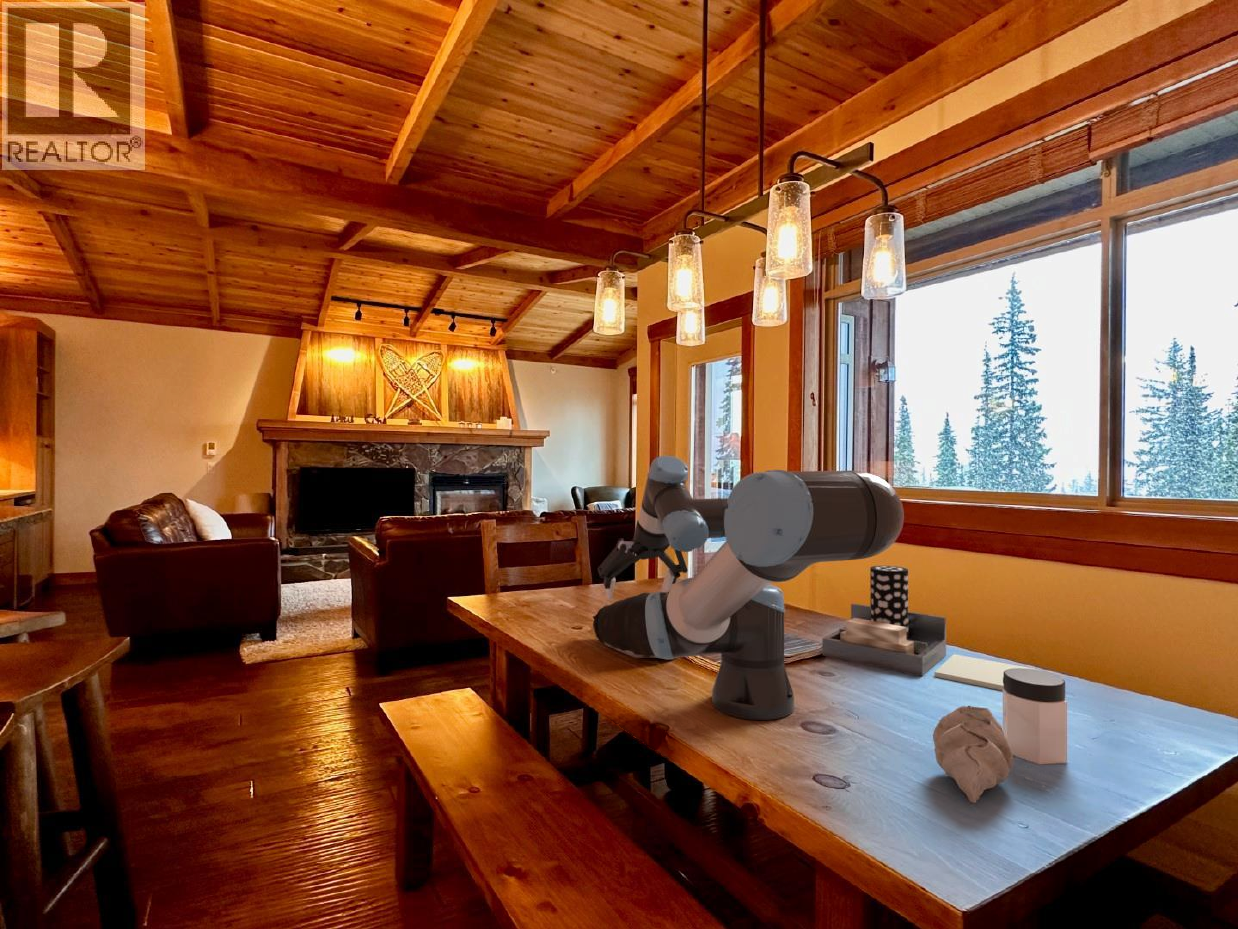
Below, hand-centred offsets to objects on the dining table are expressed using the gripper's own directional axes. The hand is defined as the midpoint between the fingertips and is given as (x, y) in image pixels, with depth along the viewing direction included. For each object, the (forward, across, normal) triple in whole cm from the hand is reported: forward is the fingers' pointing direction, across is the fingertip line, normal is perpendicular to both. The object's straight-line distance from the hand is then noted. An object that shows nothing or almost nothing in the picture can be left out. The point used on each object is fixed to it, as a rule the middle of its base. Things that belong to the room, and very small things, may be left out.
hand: (636, 594), depth 142 cm
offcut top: (0, -53, +18) cm, 56 cm away
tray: (+6, -57, +19) cm, 61 cm away
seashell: (-24, -28, +62) cm, 72 cm away
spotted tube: (+7, -60, +18) cm, 63 cm away
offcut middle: (+2, -53, +20) cm, 56 cm away
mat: (-4, -68, +34) cm, 76 cm away
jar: (-22, -46, +58) cm, 77 cm away
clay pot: (+19, -3, +1) cm, 19 cm away
